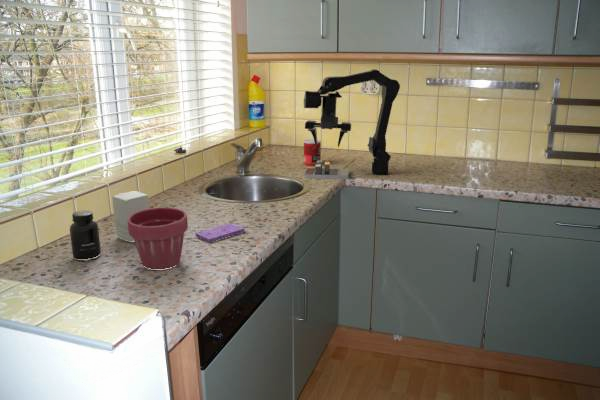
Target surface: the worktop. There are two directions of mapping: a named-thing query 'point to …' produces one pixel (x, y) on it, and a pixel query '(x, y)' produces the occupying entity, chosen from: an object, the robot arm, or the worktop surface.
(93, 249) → the supplement bottle
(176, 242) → the plant pot
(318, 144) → the canned food
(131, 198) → the supplement box
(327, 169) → the breaker handle
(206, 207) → the worktop surface
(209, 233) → the sponges
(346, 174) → the breaker panel
